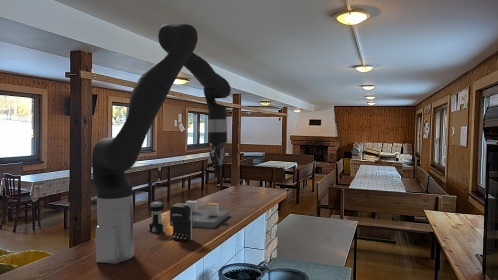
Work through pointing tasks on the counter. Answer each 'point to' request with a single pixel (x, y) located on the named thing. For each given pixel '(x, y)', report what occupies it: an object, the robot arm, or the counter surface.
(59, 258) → the counter surface
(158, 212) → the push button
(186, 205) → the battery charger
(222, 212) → the breaker board
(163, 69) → the robot arm
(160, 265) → the counter surface
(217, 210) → the handle
